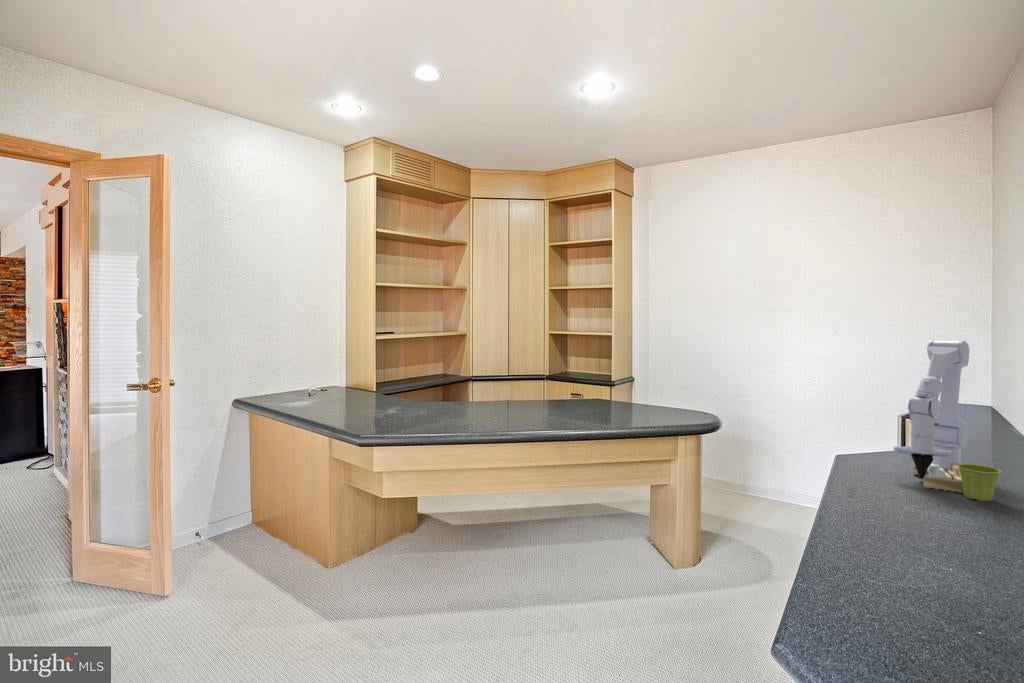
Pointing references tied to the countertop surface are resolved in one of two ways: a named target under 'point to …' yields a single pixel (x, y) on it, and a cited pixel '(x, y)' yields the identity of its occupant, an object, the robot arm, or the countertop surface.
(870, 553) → the countertop surface
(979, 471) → the plant pot
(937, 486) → the light wooden angled piece
